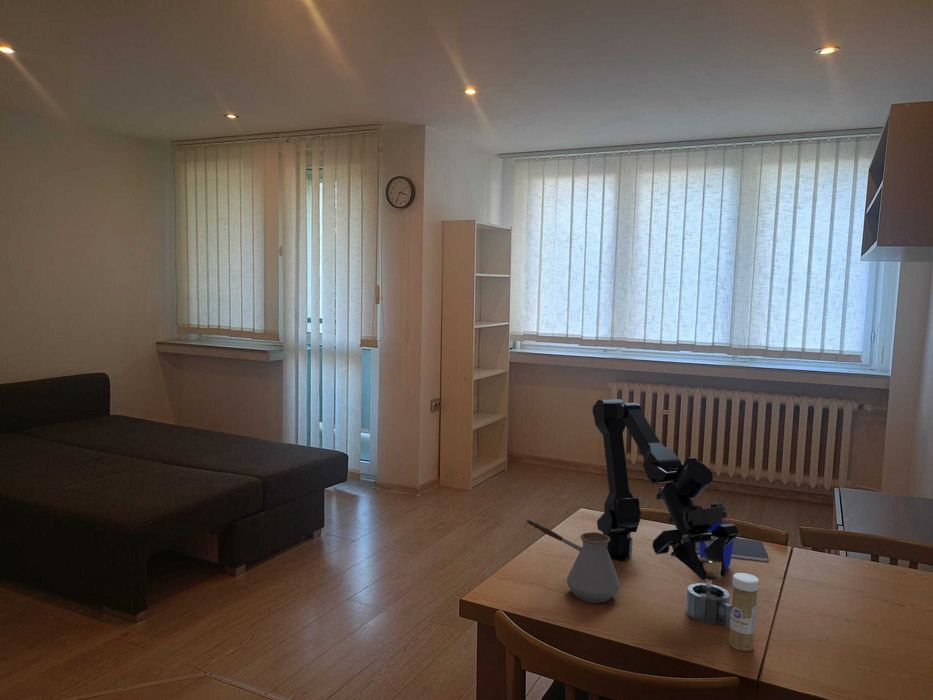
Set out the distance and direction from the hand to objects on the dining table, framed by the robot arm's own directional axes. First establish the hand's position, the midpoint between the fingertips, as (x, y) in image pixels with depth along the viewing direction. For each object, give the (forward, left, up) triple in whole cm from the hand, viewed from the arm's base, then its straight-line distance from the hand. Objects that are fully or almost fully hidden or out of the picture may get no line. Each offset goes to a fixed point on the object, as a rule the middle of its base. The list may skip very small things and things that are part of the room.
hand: (714, 577), depth 141 cm
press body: (0, 0, -8) cm, 8 cm away
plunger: (-1, +1, -5) cm, 6 cm away
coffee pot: (-29, -4, -9) cm, 31 cm away
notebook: (-5, +44, -9) cm, 45 cm away
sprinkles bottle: (+7, -9, -9) cm, 14 cm away
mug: (-5, +31, -9) cm, 32 cm away
